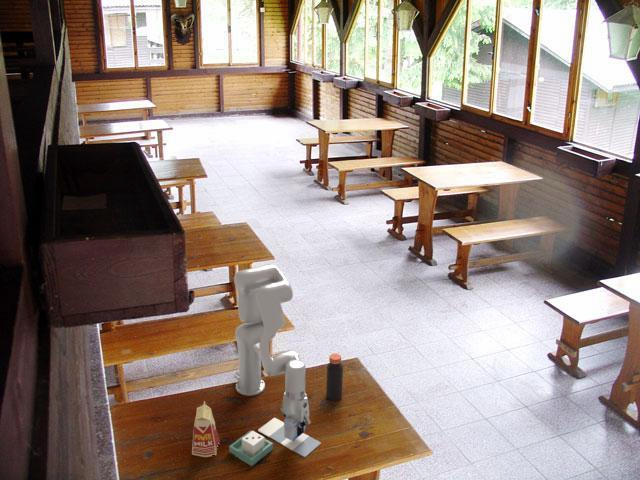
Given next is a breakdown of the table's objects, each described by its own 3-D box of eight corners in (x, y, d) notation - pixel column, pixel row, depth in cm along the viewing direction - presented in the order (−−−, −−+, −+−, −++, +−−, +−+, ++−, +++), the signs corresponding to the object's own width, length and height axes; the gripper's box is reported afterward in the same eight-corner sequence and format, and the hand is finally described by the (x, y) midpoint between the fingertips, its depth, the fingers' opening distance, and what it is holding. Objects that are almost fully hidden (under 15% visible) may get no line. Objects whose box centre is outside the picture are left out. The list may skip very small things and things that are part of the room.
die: (242, 451, 240) (241, 438, 238) (253, 443, 245) (252, 430, 242) (253, 458, 237) (253, 445, 235) (264, 449, 241) (264, 437, 239)
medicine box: (292, 442, 242) (292, 423, 239) (283, 437, 245) (283, 418, 241) (305, 431, 248) (306, 413, 245) (296, 426, 250) (297, 408, 247)
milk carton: (196, 440, 246) (193, 397, 239) (220, 441, 246) (218, 398, 239) (191, 457, 238) (188, 413, 230) (215, 458, 238) (213, 414, 230)
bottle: (324, 399, 271) (325, 359, 264) (328, 390, 278) (329, 351, 270) (340, 402, 270) (341, 362, 262) (343, 392, 276) (344, 353, 268)
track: (257, 430, 252) (257, 430, 252) (274, 418, 260) (274, 417, 259) (304, 457, 239) (304, 456, 239) (321, 443, 246) (321, 442, 246)
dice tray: (229, 452, 241) (229, 446, 239) (250, 436, 249) (250, 430, 248) (251, 466, 234) (251, 459, 233) (272, 449, 243) (272, 443, 241)
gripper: (319, 395, 237) (318, 435, 244) (284, 378, 246) (284, 417, 253) (306, 405, 231) (306, 445, 238) (271, 387, 241) (272, 427, 248)
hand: (295, 430), depth 246 cm, fingers closed on medicine box, 4 cm apart
